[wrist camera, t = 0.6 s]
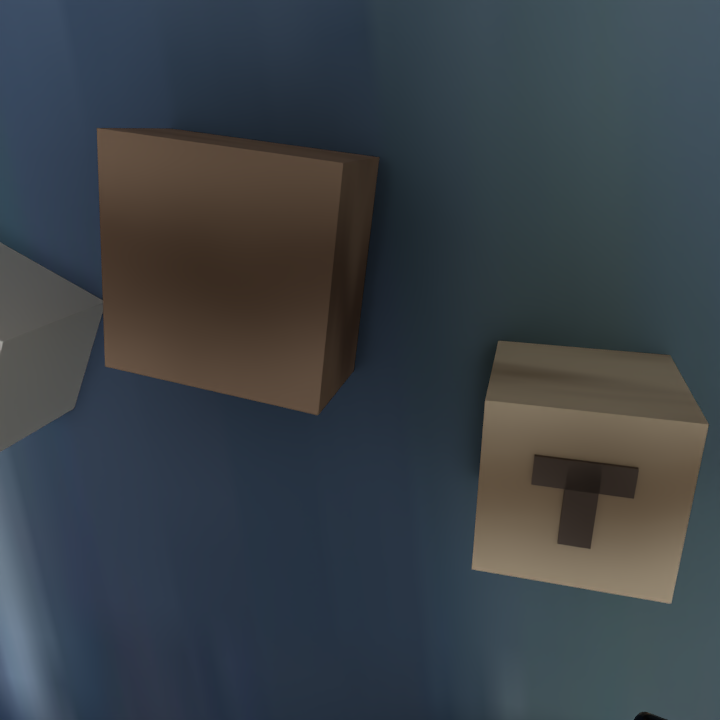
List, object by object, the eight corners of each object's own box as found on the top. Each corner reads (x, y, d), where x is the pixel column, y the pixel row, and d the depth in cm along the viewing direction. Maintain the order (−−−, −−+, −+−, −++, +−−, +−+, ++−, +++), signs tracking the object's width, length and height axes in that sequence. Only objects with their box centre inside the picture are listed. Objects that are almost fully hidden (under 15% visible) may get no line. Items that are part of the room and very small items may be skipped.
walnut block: (355, 368, 22) (318, 415, 18) (173, 330, 24) (105, 366, 20) (381, 156, 20) (343, 162, 16) (174, 128, 21) (96, 127, 17)
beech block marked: (643, 499, 21) (671, 606, 16) (486, 478, 22) (471, 571, 17) (669, 354, 19) (709, 426, 14) (498, 339, 20) (484, 401, 16)
